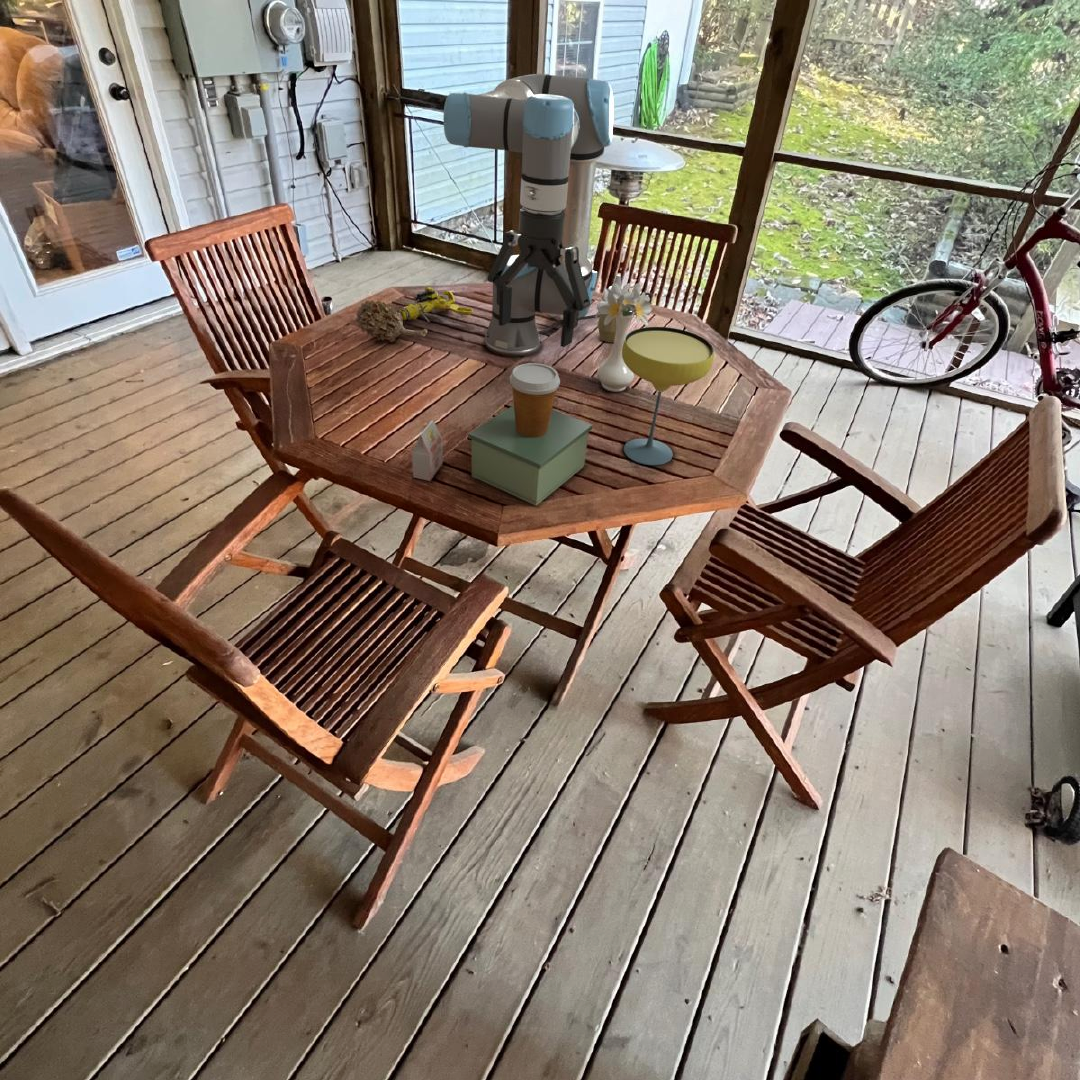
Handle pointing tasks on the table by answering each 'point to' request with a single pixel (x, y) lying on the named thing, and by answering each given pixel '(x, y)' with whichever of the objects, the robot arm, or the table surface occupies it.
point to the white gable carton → (427, 453)
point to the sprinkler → (432, 304)
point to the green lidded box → (528, 455)
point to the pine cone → (382, 321)
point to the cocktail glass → (663, 375)
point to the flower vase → (620, 331)
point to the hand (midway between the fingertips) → (534, 333)
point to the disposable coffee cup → (533, 397)
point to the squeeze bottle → (609, 330)
